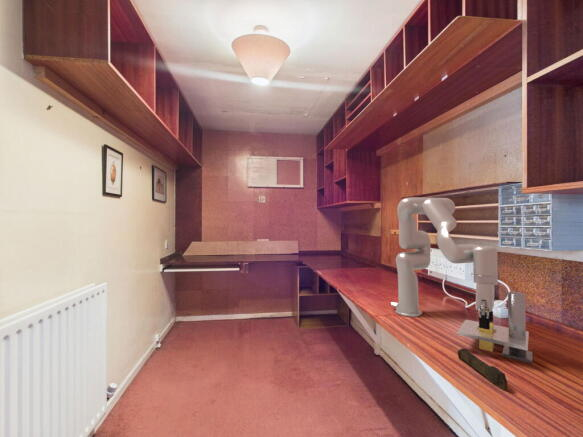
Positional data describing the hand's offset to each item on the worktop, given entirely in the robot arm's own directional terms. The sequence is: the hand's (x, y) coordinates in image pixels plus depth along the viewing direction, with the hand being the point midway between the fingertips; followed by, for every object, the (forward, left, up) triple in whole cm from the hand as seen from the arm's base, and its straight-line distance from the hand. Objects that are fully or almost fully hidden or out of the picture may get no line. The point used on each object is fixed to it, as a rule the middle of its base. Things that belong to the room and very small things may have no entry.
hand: (486, 324), depth 105 cm
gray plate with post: (+3, 0, -9) cm, 9 cm away
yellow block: (0, 0, -9) cm, 9 cm away
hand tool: (+2, -21, -9) cm, 23 cm away
